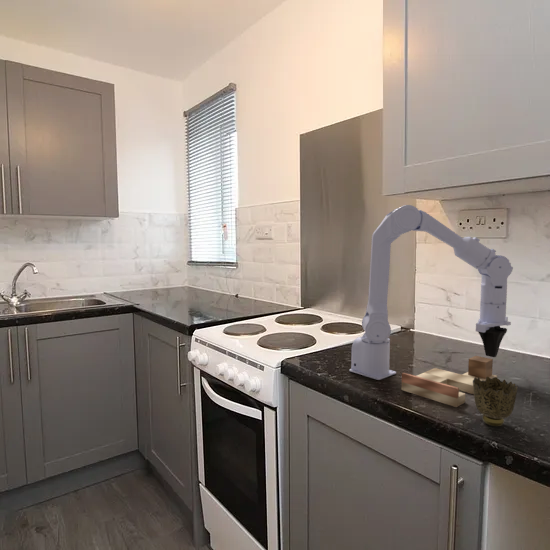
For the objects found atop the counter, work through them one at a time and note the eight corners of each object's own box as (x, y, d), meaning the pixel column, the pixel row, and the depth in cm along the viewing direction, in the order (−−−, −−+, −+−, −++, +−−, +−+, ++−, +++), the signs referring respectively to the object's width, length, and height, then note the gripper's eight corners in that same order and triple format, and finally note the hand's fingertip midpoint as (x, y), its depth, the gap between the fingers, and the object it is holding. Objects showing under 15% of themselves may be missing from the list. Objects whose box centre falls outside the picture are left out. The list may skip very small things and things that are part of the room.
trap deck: (401, 389, 94) (401, 373, 93) (445, 370, 107) (445, 356, 107) (456, 407, 84) (457, 388, 84) (496, 383, 98) (497, 367, 97)
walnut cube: (468, 374, 98) (468, 358, 98) (475, 371, 101) (475, 355, 100) (485, 379, 95) (485, 362, 95) (492, 375, 98) (492, 359, 97)
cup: (500, 414, 80) (502, 375, 80) (524, 432, 73) (527, 389, 72) (464, 415, 80) (465, 376, 79) (484, 432, 73) (486, 390, 72)
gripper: (498, 308, 93) (496, 365, 94) (521, 301, 102) (519, 353, 103) (467, 304, 98) (465, 358, 99) (492, 298, 107) (490, 348, 109)
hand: (491, 355), depth 102 cm, fingers closed
